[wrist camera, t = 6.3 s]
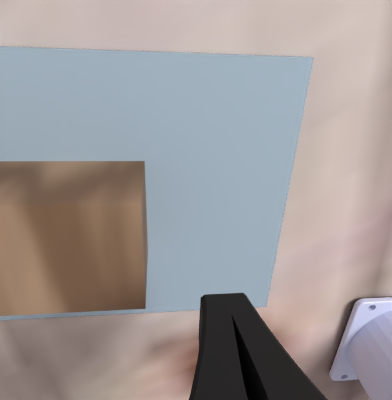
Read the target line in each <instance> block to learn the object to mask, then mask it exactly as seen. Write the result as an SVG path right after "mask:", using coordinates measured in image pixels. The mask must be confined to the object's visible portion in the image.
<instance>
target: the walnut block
mask: <svg viewBox="0 0 392 400" xmlns="http://www.w3.org/2000/svg"><path fill="white" fill-rule="evenodd" d="M147 264H148V236H147V210H146V184H145V161H0V316H13V315H33V314H52V313H72V312H92V311H112V310H132V309H146V286H147Z"/></svg>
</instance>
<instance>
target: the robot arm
mask: <svg viewBox="0 0 392 400" xmlns="http://www.w3.org/2000/svg"><path fill="white" fill-rule="evenodd" d="M329 375H330V377H331V379H332V380H333V381H345V380H357V379H359V381H360V383H361V384H362V386H363V388H364V390H365V392H366V393H367V395H368V397H369V399H370V400H392V297H384V298H365V299H360V300H358V301H356V303H355V304H354V307H353V309H352V312H351V315H350V318H349V321H348V323H347V326H346V329H345V332H344V334H343V337H342V340H341V343H340V345H339V348H338V351H337V354H336V356H335V359H334V362H333V365H332V368H331V370H330V373H329ZM189 400H328V399H327V398H326V397H325V396H324V395H323V394H322V393H321V392H320V391H319V390H318V388H317V387H316V386H315V385H314V384H313V383H312V382H311V381H310V379H309V378H308V377H307V376H306V375H305V374H304V372H303V371H302V370H301V369H300V368H299V367H298V365H297V364H296V363H295V362H294V360H293V359H292V358H291V357H290V356H289V354H288V353H287V352H286V350H285V349H284V348H283V347H282V345H281V344H280V343H279V341H278V340H277V339H276V338H275V336H274V335H273V333H272V332H271V331H270V329H269V328H268V327H267V325H266V324H265V322H264V321H263V320H262V318H261V317H260V315H259V314H258V312H257V311H256V309H255V308H254V306H253V305H252V303H251V302H250V300H249V299H248V297H247V296H246V295H245V294H244V293H226V294H205V295H203V296H202V297H201V300H200V320H199V354H198V360H197V365H196V370H195V375H194V380H193V385H192V389H191V394H190V398H189Z"/></svg>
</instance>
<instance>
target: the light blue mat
mask: <svg viewBox="0 0 392 400" xmlns="http://www.w3.org/2000/svg"><path fill="white" fill-rule="evenodd" d="M312 63H313V58H311V57H296V56H267V55H238V54H209V53H180V52H151V51H122V50H93V49H64V48H34V47H5V46H0V161H145V184H146V210H147V236H148V264H147V286H146V309H132V310H112V311H92V312H72V313H52V314H33V315H13V316H0V320H18V319H37V318H56V317H76V316H95V315H114V314H134V313H153V312H172V311H191V310H200V300H201V297H202V296H203V295H205V294H226V293H244V294H245V295H246V296H247V297H248V299H249V300H250V302H251V303H252V305H253V306H254V307H266V306H267V300H268V295H269V290H270V285H271V279H272V274H273V269H274V263H275V258H276V253H277V248H278V242H279V237H280V232H281V227H282V221H283V216H284V211H285V206H286V200H287V195H288V190H289V185H290V179H291V174H292V169H293V163H294V158H295V153H296V148H297V142H298V137H299V132H300V127H301V121H302V116H303V111H304V106H305V100H306V95H307V90H308V85H309V79H310V74H311V69H312Z"/></svg>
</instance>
